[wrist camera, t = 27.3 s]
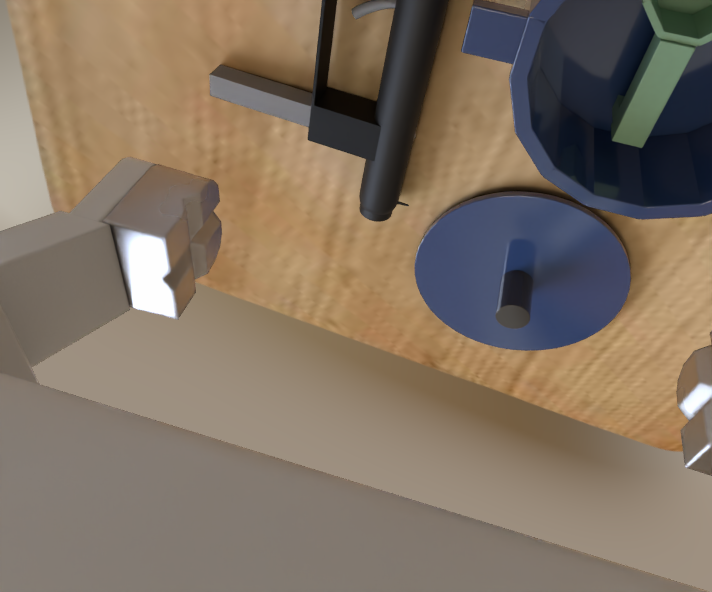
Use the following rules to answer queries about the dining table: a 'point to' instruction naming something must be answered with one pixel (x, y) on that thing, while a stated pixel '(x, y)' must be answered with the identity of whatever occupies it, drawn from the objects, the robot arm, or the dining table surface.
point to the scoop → (660, 65)
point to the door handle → (357, 98)
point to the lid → (522, 270)
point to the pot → (599, 104)
